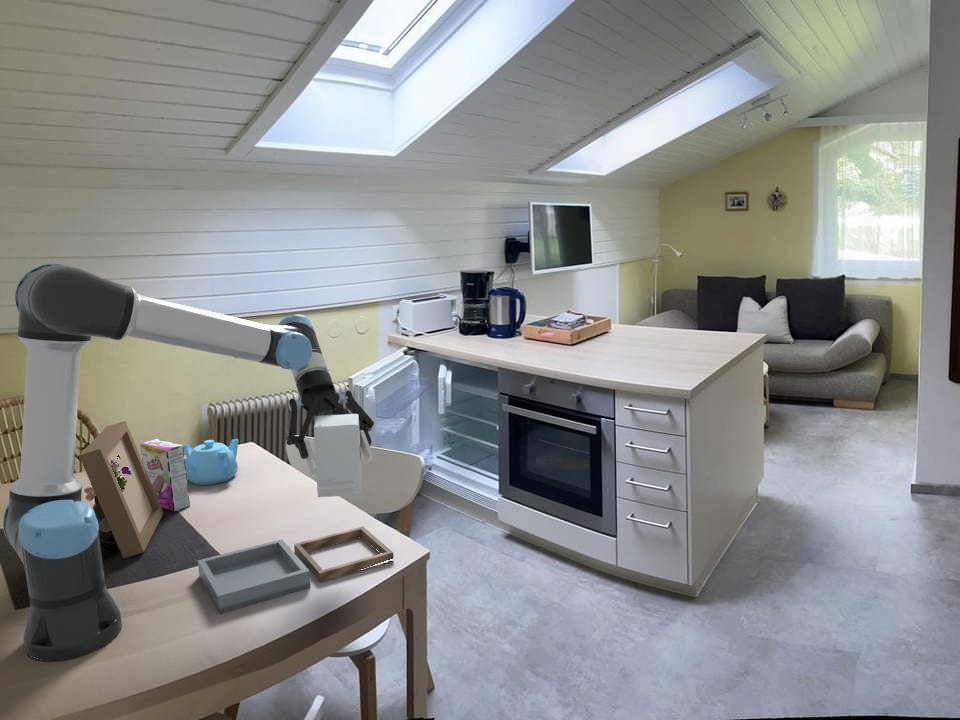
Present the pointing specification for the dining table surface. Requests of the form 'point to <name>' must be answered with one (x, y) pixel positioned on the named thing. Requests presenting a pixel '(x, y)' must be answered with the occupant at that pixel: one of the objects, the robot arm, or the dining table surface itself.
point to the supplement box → (338, 455)
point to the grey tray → (252, 575)
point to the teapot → (211, 462)
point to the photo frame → (124, 511)
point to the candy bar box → (166, 473)
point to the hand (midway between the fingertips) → (342, 465)
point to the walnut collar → (342, 569)
